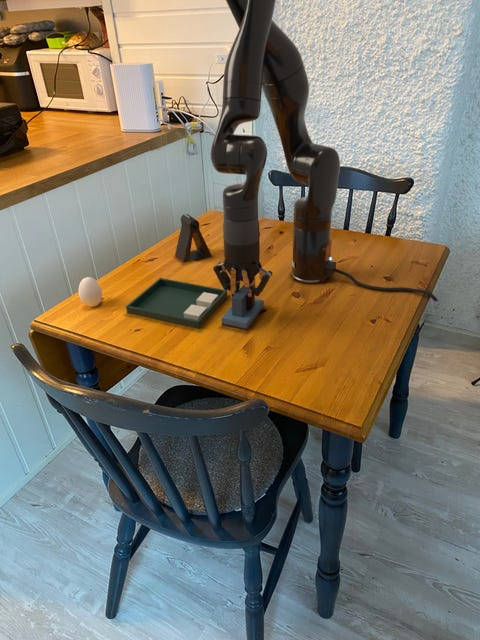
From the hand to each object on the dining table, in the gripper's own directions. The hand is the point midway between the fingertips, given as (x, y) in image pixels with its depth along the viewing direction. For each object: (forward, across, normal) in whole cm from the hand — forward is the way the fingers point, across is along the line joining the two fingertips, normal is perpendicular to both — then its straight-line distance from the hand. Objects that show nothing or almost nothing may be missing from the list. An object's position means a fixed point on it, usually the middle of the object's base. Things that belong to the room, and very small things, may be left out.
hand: (243, 307), depth 106 cm
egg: (+3, -37, -8) cm, 38 cm away
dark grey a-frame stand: (+3, -27, +25) cm, 37 cm away
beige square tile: (+2, -10, +2) cm, 11 cm away
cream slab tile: (+2, -10, -4) cm, 11 cm away
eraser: (+3, 0, 0) cm, 3 cm away
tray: (+3, -17, -1) cm, 17 cm away
